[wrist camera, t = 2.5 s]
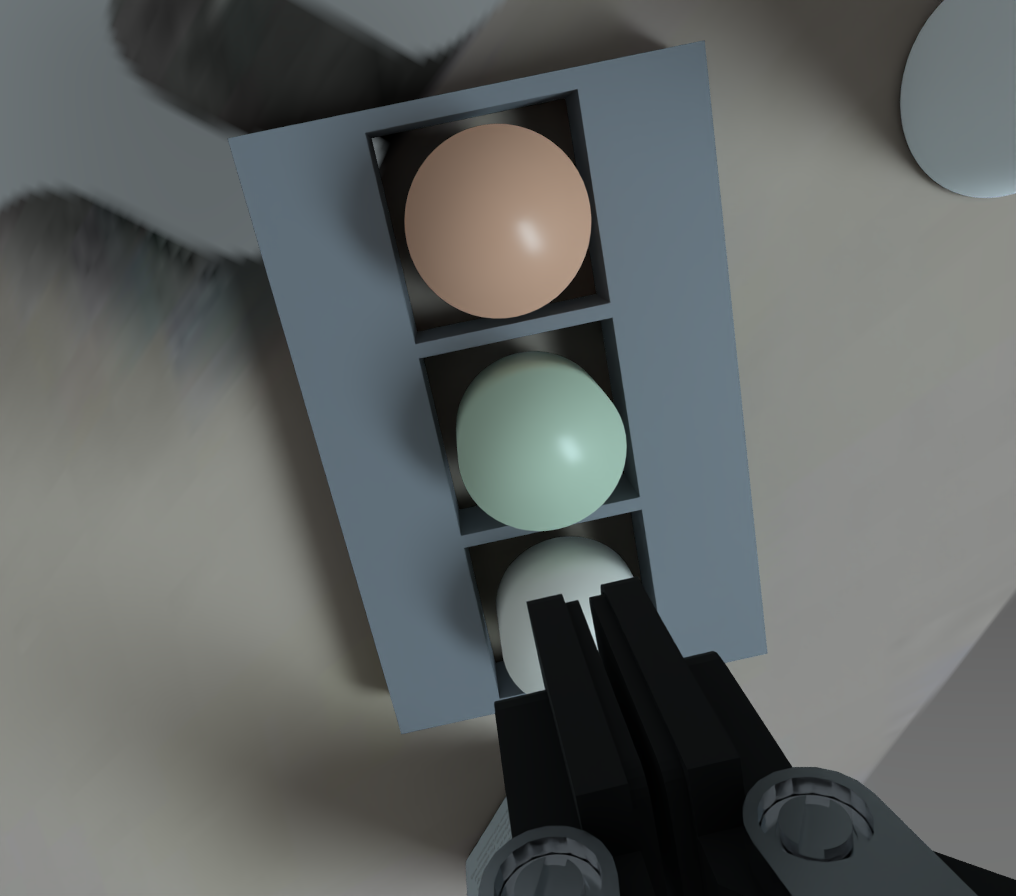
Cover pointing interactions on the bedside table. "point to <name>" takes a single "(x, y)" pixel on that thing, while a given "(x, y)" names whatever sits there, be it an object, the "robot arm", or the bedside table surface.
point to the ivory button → (546, 573)
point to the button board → (617, 303)
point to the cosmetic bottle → (964, 97)
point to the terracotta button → (497, 221)
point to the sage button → (538, 442)
